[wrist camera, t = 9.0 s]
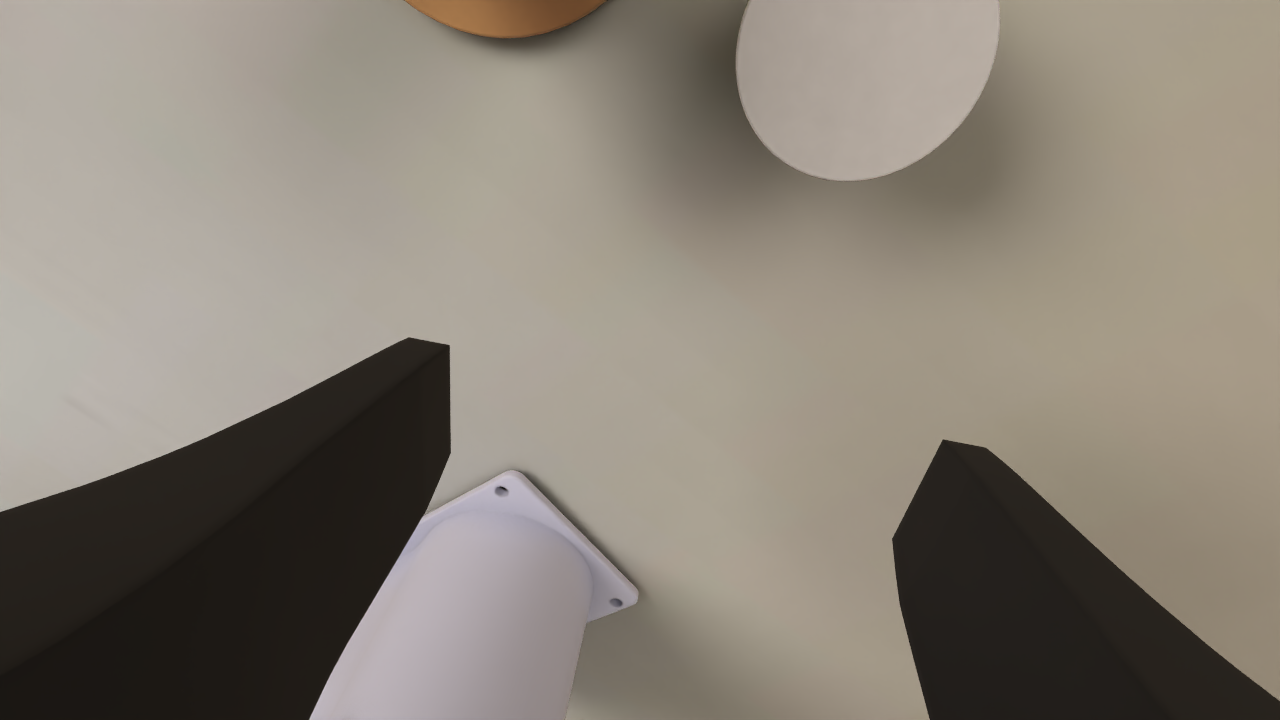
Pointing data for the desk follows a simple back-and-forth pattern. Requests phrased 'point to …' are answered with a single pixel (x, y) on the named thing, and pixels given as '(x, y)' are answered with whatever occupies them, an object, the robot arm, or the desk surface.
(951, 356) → the desk surface
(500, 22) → the coaster
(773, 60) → the cylinder
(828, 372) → the desk surface
